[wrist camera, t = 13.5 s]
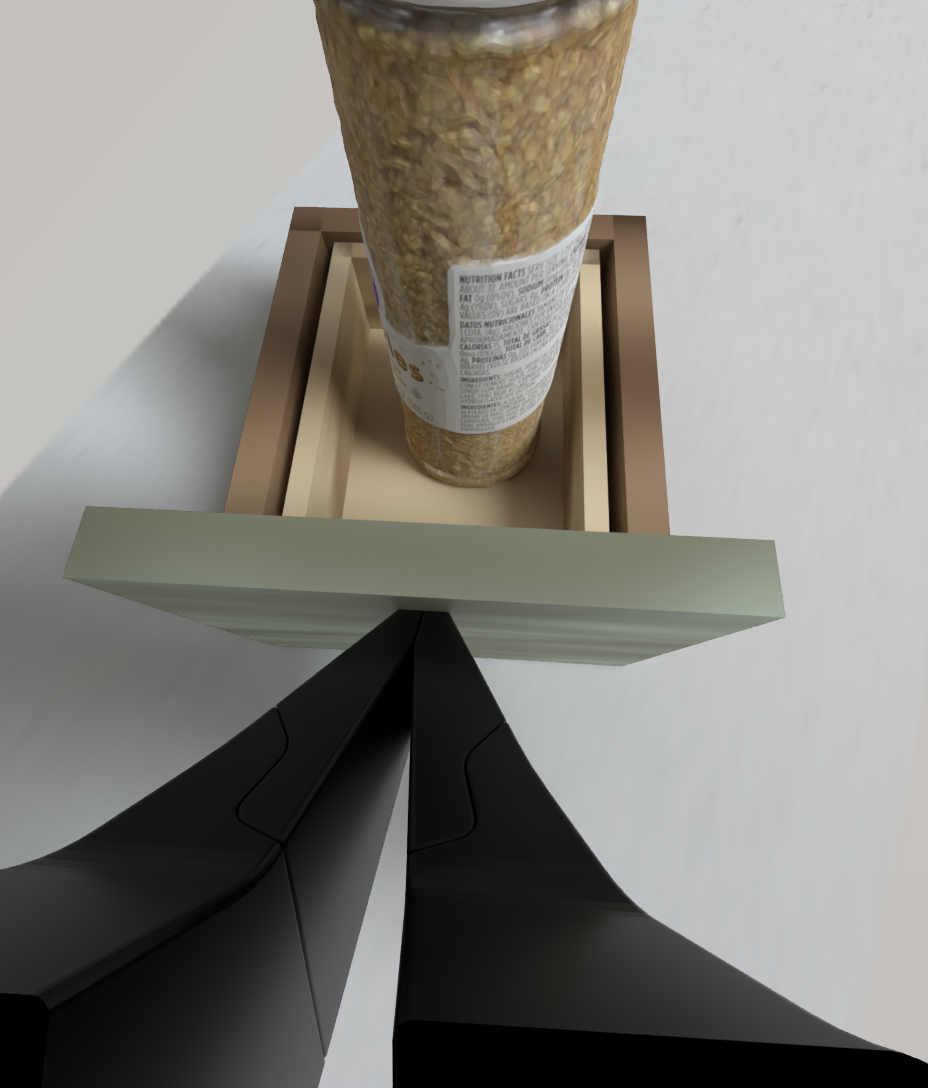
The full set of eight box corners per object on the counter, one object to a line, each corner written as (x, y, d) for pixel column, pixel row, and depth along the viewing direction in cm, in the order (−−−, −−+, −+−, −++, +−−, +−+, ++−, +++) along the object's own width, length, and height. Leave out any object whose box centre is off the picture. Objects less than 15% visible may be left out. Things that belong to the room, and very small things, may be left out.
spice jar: (389, 397, 17) (143, -519, 4) (512, 359, 18) (616, -581, 5) (431, 513, 16) (247, -341, 3) (564, 468, 16) (905, -450, 3)
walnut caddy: (620, 627, 16) (675, 596, 11) (279, 608, 16) (210, 571, 12) (607, 323, 20) (645, 215, 15) (332, 314, 20) (294, 206, 16)
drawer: (622, 665, 15) (785, 617, 7) (271, 645, 16) (62, 576, 8) (609, 347, 19) (707, 86, 11) (327, 337, 19) (226, 78, 12)
